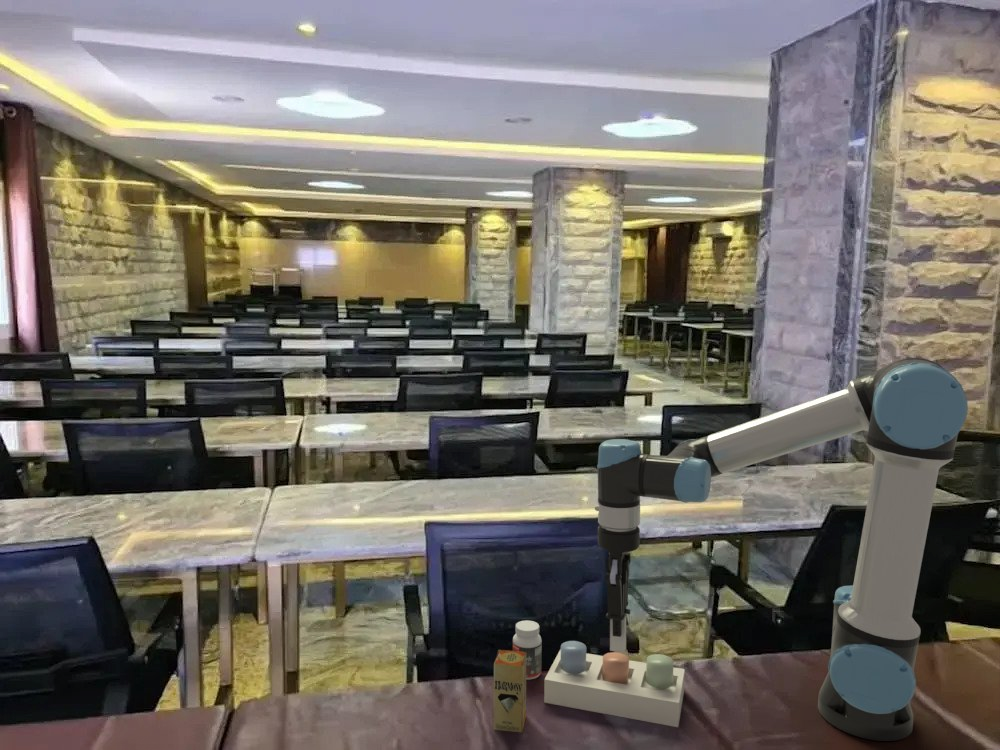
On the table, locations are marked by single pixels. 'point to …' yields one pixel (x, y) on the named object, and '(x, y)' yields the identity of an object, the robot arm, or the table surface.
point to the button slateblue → (573, 657)
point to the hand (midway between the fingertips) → (618, 649)
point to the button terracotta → (615, 668)
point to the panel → (615, 692)
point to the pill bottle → (529, 646)
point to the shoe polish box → (510, 691)
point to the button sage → (659, 671)
